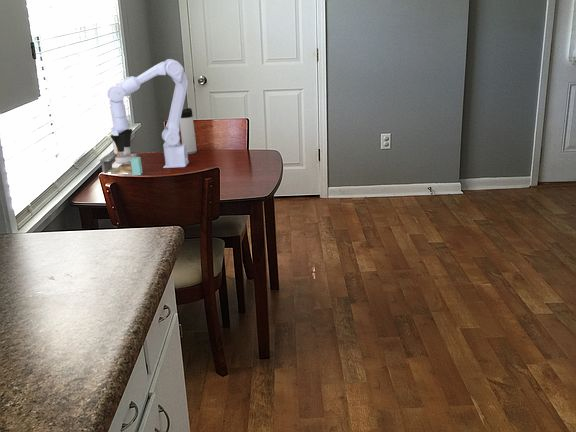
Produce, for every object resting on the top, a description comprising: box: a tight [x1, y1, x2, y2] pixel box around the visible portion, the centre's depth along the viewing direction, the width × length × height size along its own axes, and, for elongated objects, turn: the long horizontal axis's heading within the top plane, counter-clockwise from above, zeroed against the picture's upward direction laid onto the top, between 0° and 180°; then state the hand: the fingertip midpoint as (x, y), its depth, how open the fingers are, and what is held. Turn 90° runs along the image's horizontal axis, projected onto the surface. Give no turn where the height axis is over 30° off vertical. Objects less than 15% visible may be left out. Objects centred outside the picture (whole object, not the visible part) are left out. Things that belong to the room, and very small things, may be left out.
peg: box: [130, 156, 143, 176], centre depth 265 cm, size 3×3×7 cm
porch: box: [99, 153, 133, 174], centre depth 270 cm, size 13×10×7 cm
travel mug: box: [179, 107, 198, 155], centre depth 294 cm, size 6×7×20 cm
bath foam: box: [111, 130, 132, 164], centre depth 286 cm, size 7×7×20 cm
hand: (124, 149), depth 267 cm, fingers open, 7 cm apart
